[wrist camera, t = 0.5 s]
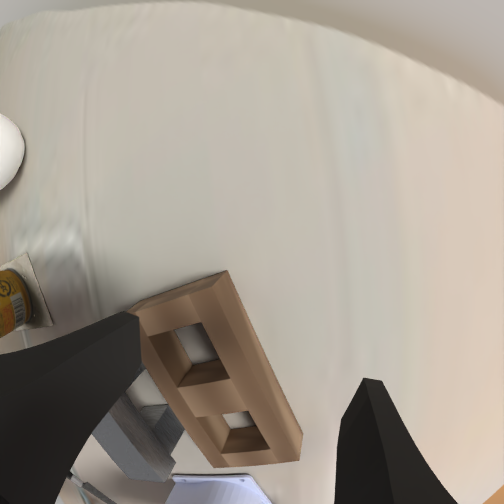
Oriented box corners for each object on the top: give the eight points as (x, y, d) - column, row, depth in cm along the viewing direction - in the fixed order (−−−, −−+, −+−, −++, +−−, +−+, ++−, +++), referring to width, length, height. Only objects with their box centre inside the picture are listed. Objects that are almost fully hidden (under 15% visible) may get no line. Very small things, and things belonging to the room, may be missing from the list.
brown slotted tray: (223, 444, 25) (213, 467, 22) (140, 300, 23) (118, 317, 20) (303, 433, 23) (299, 460, 20) (227, 270, 20) (212, 286, 18)
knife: (193, 533, 35) (191, 539, 34) (183, 539, 36) (181, 545, 35) (25, 425, 36) (21, 429, 35) (24, 437, 37) (20, 441, 36)
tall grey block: (159, 433, 26) (129, 478, 20) (98, 338, 25) (52, 375, 19) (192, 431, 25) (164, 482, 19) (130, 329, 24) (82, 371, 18)
